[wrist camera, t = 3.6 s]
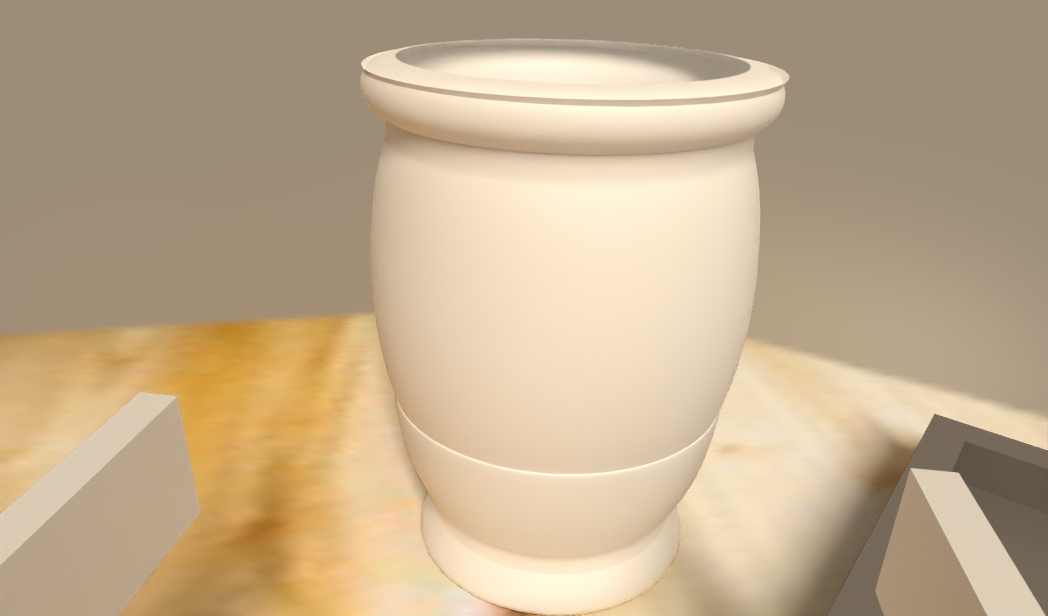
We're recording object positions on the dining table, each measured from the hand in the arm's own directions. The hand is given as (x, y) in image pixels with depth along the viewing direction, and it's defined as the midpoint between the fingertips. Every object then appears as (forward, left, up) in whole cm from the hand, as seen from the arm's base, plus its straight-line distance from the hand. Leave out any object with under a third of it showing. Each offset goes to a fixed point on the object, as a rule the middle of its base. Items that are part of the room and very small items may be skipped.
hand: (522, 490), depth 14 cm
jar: (-5, +8, -9) cm, 13 cm away
